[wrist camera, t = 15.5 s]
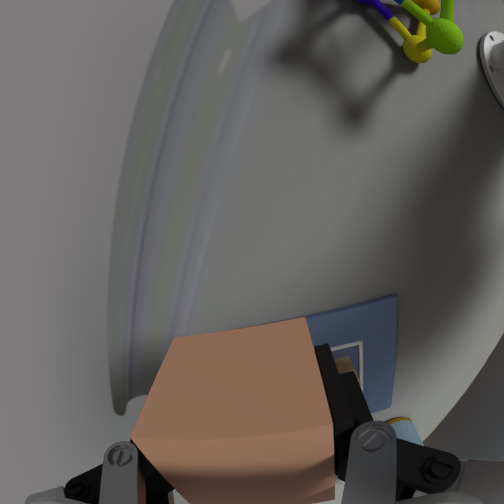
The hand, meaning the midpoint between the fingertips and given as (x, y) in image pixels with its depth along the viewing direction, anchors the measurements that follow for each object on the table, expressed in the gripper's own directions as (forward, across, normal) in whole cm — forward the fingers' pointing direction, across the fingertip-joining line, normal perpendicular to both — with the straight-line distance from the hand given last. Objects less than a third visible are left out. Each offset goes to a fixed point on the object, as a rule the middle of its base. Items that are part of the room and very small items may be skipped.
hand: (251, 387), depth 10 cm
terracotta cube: (+1, 0, 0) cm, 1 cm away
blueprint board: (+17, -5, +16) cm, 24 cm away
